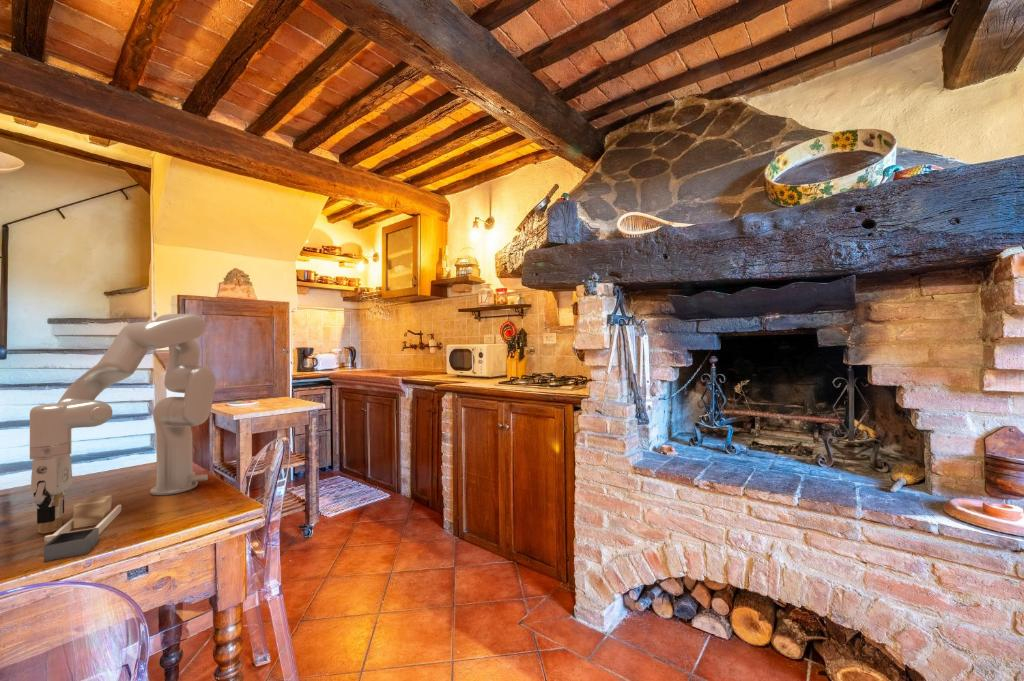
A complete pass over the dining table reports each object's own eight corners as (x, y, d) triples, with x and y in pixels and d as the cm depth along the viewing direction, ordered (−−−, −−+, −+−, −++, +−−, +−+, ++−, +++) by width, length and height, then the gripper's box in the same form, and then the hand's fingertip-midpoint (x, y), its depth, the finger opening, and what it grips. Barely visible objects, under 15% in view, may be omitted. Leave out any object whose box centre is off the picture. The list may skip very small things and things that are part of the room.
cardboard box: (111, 515, 120) (111, 494, 120) (103, 523, 115) (103, 502, 115) (82, 520, 117) (82, 498, 117) (73, 528, 112) (73, 506, 112)
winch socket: (98, 541, 105) (98, 527, 105) (86, 553, 99) (86, 539, 99) (58, 548, 102) (58, 533, 102) (43, 561, 95) (43, 546, 95)
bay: (121, 511, 124) (121, 501, 124) (92, 541, 105) (92, 529, 105) (81, 517, 119) (81, 506, 119) (44, 549, 101) (44, 537, 101)
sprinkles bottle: (34, 535, 108) (34, 484, 108) (43, 528, 112) (43, 479, 112) (59, 531, 110) (59, 481, 110) (66, 525, 114) (66, 476, 114)
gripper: (55, 456, 106) (55, 528, 106) (83, 442, 120) (83, 505, 120) (12, 460, 102) (12, 534, 102) (47, 445, 117) (47, 510, 117)
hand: (51, 517), depth 111 cm, fingers closed on sprinkles bottle, 4 cm apart
